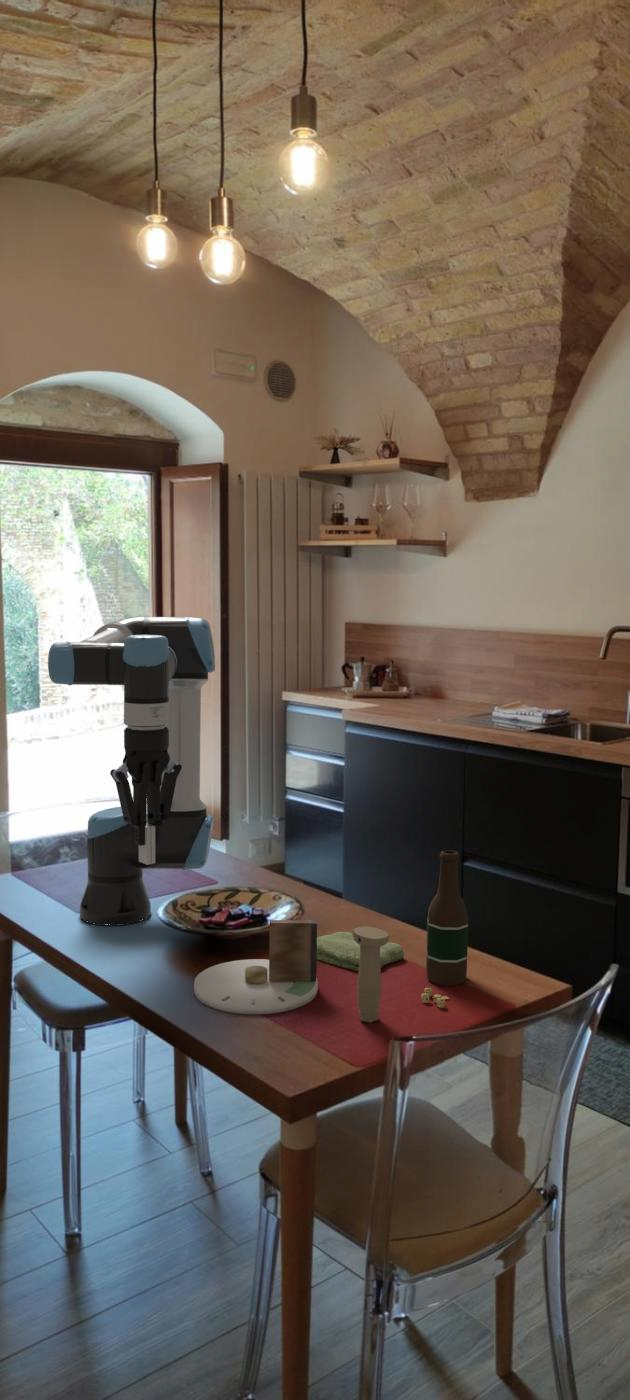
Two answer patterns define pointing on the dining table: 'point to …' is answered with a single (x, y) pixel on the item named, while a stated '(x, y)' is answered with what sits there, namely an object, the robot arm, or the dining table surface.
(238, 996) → the dial
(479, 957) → the dining table surface
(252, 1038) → the dining table surface
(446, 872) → the beer bottle
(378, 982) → the handle
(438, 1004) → the dice set
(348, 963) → the washcloth
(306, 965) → the wooden panel and knob
